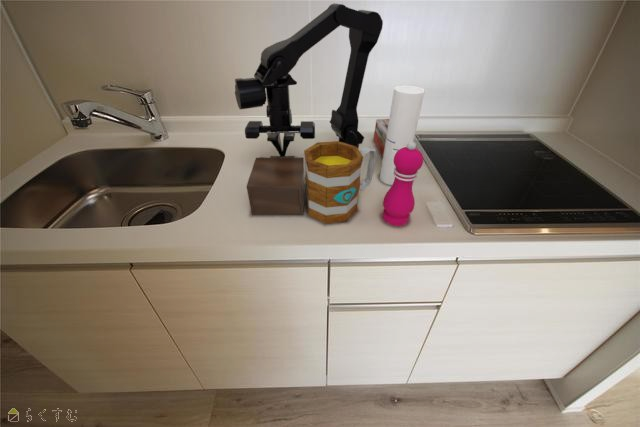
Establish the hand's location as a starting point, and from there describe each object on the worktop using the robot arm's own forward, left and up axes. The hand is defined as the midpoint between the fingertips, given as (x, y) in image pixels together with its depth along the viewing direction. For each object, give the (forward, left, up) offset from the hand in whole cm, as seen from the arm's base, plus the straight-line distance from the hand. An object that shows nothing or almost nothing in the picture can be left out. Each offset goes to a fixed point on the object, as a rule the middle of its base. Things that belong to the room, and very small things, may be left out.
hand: (283, 157), depth 84 cm
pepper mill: (-29, +22, -5) cm, 37 cm away
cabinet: (0, +14, -5) cm, 15 cm away
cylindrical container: (-32, +4, -5) cm, 33 cm away
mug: (-16, +16, -5) cm, 23 cm away
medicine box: (-35, -15, 0) cm, 38 cm away
